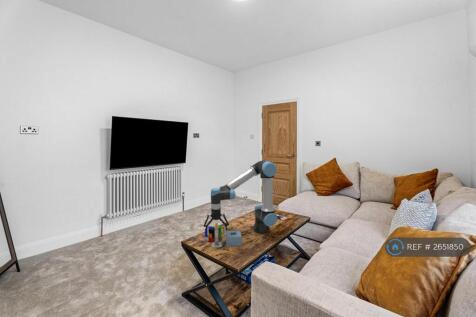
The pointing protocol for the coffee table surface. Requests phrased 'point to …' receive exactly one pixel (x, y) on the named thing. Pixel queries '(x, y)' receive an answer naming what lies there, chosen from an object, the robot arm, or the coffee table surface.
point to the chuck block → (233, 238)
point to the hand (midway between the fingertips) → (216, 234)
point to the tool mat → (216, 245)
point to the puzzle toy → (212, 233)
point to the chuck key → (216, 234)
